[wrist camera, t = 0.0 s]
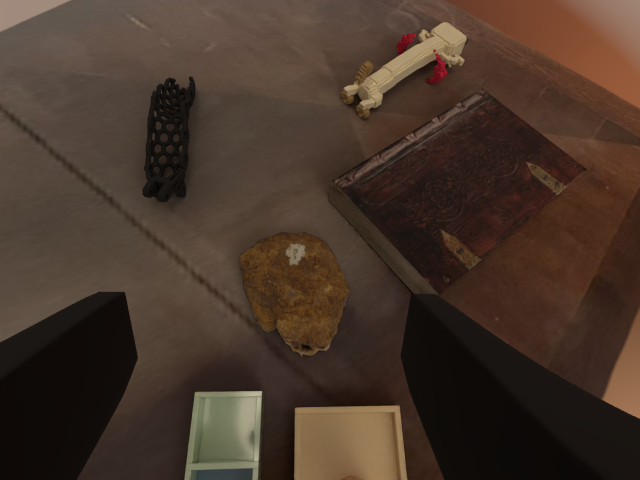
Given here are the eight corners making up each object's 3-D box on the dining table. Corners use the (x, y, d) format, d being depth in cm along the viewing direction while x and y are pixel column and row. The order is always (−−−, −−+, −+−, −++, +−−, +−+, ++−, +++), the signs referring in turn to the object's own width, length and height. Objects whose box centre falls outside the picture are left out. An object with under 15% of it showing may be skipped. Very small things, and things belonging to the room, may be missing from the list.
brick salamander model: (372, 134, 56) (478, 60, 62) (382, 92, 48) (502, 11, 54) (331, 96, 59) (435, 29, 65) (333, 50, 51) (452, -22, 57)
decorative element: (168, 88, 56) (155, 54, 50) (202, 88, 56) (192, 54, 51) (148, 215, 46) (129, 190, 41) (189, 214, 47) (175, 189, 41)
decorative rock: (370, 328, 42) (309, 229, 48) (378, 318, 39) (312, 212, 44) (282, 377, 39) (228, 263, 44) (282, 371, 35) (223, 248, 41)
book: (467, 110, 58) (481, 85, 54) (561, 190, 53) (587, 169, 48) (327, 198, 49) (331, 177, 45) (424, 307, 43) (439, 295, 39)
